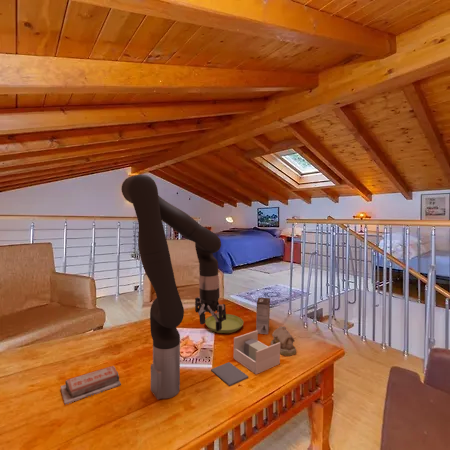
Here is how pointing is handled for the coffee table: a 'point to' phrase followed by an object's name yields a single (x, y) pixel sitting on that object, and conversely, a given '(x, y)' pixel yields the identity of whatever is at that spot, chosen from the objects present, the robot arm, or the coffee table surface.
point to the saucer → (225, 324)
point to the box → (252, 348)
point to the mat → (229, 374)
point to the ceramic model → (284, 341)
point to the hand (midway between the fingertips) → (210, 327)
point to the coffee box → (263, 315)
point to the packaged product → (90, 384)
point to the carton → (263, 357)
